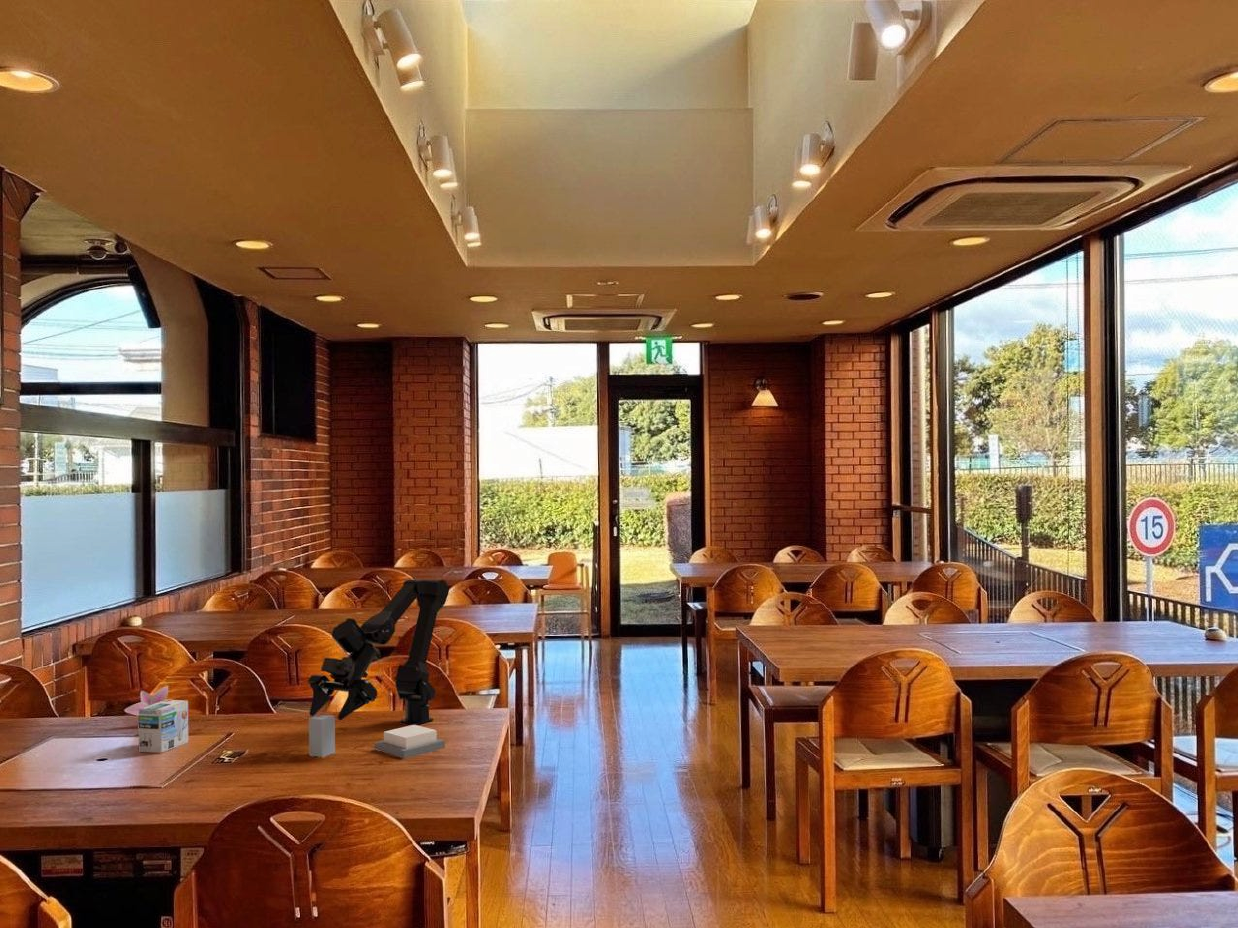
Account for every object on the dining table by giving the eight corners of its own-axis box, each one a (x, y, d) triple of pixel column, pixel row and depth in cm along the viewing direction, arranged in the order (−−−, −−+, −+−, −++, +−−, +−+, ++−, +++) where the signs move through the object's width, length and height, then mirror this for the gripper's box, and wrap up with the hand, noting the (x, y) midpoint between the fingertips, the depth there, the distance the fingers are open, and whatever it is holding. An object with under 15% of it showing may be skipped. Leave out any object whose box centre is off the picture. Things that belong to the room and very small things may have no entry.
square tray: (374, 752, 233) (374, 742, 233) (415, 742, 242) (414, 732, 242) (404, 761, 225) (404, 750, 225) (444, 750, 234) (444, 740, 234)
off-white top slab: (383, 741, 233) (383, 731, 233) (414, 734, 240) (414, 724, 240) (406, 748, 227) (406, 737, 227) (436, 740, 234) (436, 730, 234)
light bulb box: (161, 753, 233) (161, 709, 233) (137, 752, 235) (137, 708, 235) (189, 742, 244) (189, 699, 244) (166, 741, 245) (166, 698, 245)
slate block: (309, 755, 229) (308, 717, 229) (322, 751, 233) (321, 714, 233) (322, 757, 227) (321, 719, 227) (335, 753, 231) (334, 715, 231)
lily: (119, 731, 260) (119, 704, 256) (147, 705, 271) (147, 678, 267) (158, 745, 259) (159, 718, 255) (185, 718, 269) (186, 692, 265)
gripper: (312, 642, 241) (278, 694, 231) (369, 646, 232) (335, 701, 222) (336, 668, 247) (303, 720, 237) (391, 673, 239) (360, 728, 228)
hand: (324, 717), depth 231 cm, fingers open, 9 cm apart
